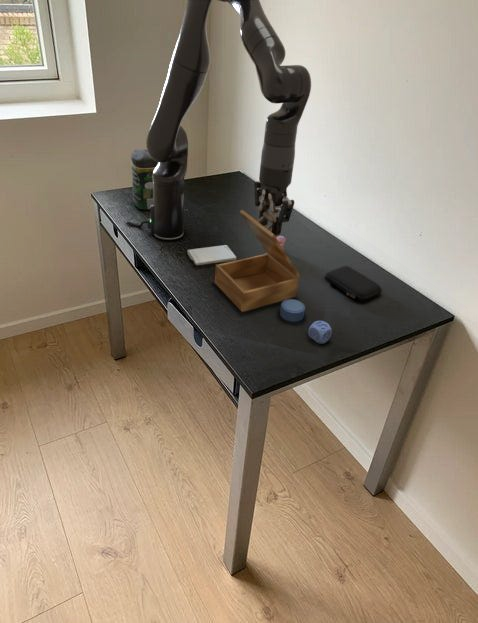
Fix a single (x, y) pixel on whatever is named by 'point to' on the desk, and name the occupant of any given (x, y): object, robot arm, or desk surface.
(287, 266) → the cover
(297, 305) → the blue lid
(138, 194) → the coffee jar
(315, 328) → the decorative dice
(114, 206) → the desk surface
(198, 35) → the robot arm
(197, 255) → the hard drive
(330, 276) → the carrying case
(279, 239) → the video game controller
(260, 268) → the chest
